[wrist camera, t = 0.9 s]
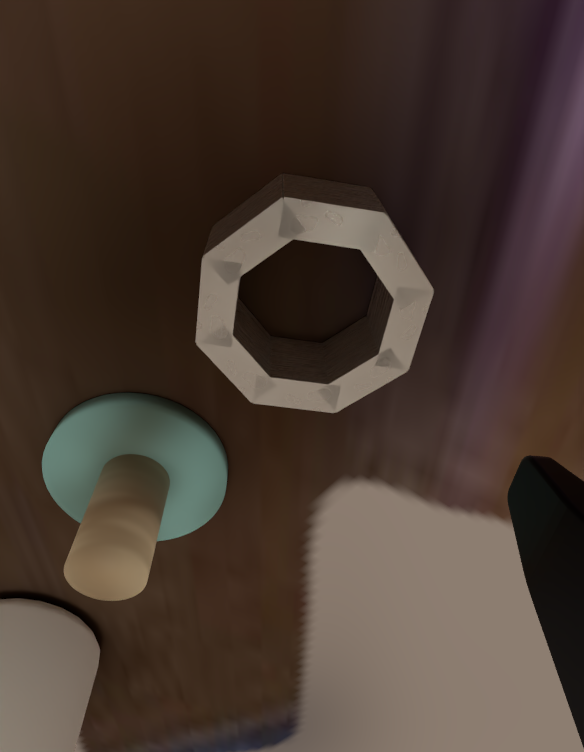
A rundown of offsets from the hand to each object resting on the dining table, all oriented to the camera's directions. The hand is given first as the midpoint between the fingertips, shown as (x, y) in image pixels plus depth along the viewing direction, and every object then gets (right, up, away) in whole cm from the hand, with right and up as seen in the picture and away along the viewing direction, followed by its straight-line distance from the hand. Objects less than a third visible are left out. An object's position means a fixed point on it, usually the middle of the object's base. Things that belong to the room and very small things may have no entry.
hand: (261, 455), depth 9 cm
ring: (+1, +5, +11) cm, 12 cm away
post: (-6, -3, +16) cm, 17 cm away
